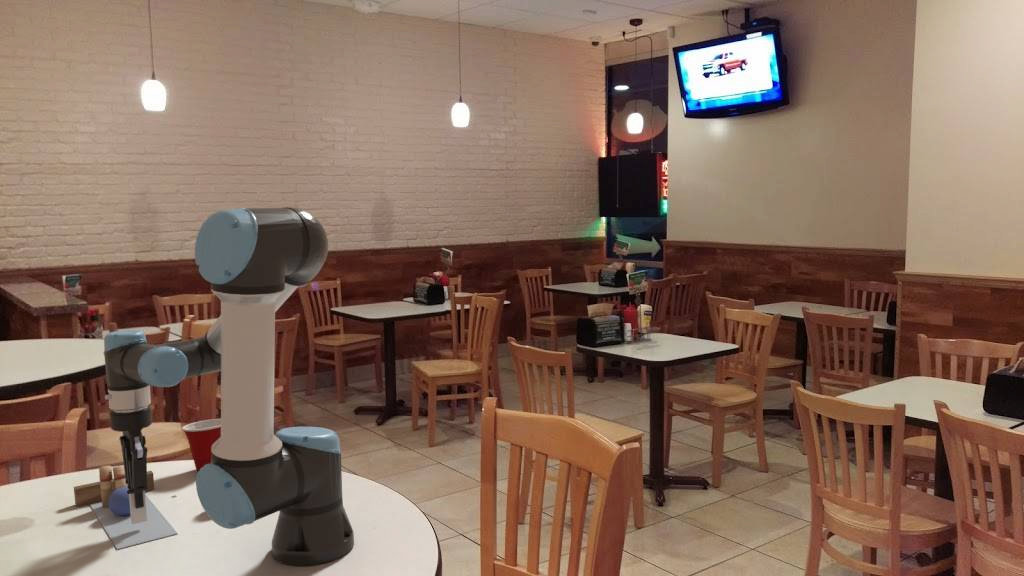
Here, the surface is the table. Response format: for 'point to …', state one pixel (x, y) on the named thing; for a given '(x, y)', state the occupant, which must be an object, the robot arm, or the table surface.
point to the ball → (119, 502)
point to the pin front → (119, 477)
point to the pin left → (106, 484)
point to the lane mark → (133, 526)
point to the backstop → (93, 491)
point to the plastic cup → (202, 440)
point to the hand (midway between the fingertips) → (139, 521)
